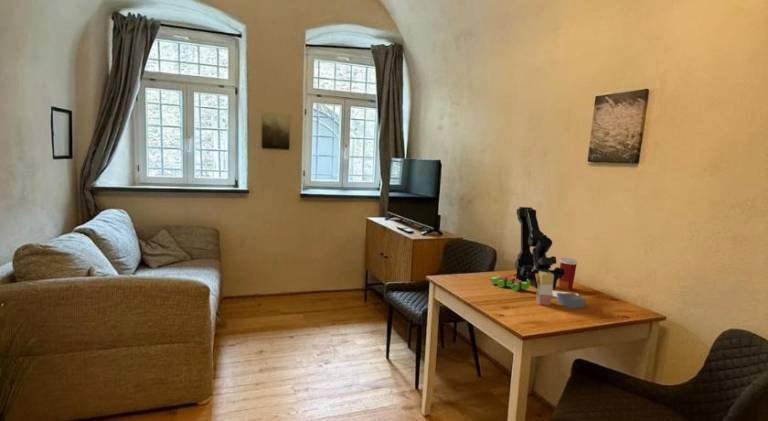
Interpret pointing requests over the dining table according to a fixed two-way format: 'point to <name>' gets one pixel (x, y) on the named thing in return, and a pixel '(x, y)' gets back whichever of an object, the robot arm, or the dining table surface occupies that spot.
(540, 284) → the brick column
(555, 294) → the page
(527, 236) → the robot arm
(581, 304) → the base brick
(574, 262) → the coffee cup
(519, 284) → the green bumpy elongated piece
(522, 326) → the dining table surface
